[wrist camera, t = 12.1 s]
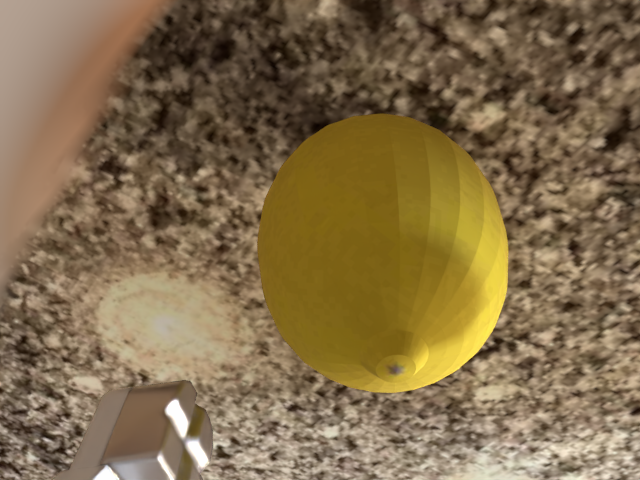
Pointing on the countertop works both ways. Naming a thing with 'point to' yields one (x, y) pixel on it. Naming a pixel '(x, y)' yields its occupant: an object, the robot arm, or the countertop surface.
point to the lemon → (382, 253)
